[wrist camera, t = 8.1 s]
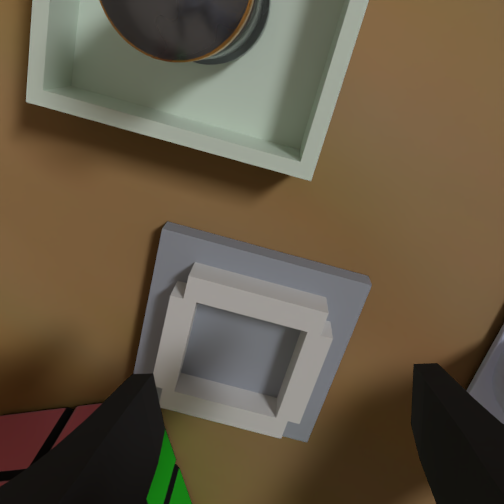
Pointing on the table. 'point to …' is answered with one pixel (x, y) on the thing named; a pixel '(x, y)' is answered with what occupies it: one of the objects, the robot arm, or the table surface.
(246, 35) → the dark cylindrical piece
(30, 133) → the table surface
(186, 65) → the bin
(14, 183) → the table surface
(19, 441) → the puzzle cube
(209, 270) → the mount plate
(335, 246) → the table surface
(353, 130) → the table surface
